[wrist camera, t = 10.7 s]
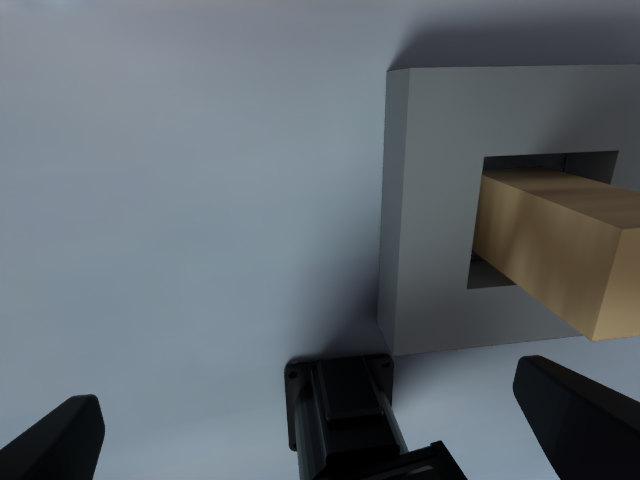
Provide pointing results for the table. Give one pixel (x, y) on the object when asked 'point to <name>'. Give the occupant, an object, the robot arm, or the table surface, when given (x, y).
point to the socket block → (464, 185)
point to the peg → (565, 245)
